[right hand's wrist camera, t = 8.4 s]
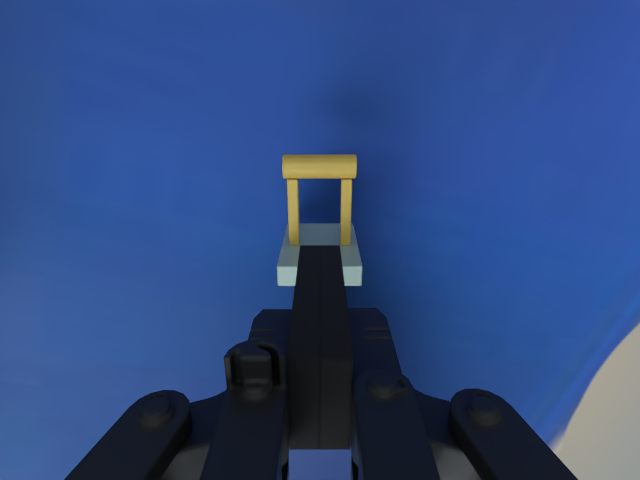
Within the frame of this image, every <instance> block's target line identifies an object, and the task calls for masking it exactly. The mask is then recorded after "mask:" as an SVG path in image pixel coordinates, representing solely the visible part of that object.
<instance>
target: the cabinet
mask: <svg viewBox="0 0 640 480" xmlns="http://www.w3.org/2000/svg"><path fill="white" fill-rule="evenodd" d="M350 476H351V445H350V450H290V445H289V480H350Z"/></svg>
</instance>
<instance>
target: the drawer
mask: <svg viewBox="0 0 640 480" xmlns="http://www.w3.org/2000/svg"><path fill="white" fill-rule="evenodd" d="M282 172H283V178H284V179H287V194H288V224H287V225H286V230H285V234H284V238H283V243H282V247H281V251H280V255H279V260H278V264H277V280H278V286H295V283H296V275H297V266H298V258H299V250H300V245H340V250H341V258H342V266H343V275H344V283H345V286H361V285H362V262H361V258H360V253H359V249H358V244H357V239H356V235H355V230H354V226H353V224H352V223H351V207H352V178H356V175H357V156H356V155H355V154H284V155H283V158H282ZM304 178H341V206H340V223H299V186H298V179H304Z"/></svg>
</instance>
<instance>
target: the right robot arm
mask: <svg viewBox="0 0 640 480" xmlns="http://www.w3.org/2000/svg"><path fill="white" fill-rule="evenodd" d="M224 364H225V373H226V382H227V390H225V391H224V392H222V393H220V394H218V395H217V396H214V397H211V398H208V399H204V400H200V401H196V402H192V403H189V400H188V399H187V397H186V396H185V395H184V394H182V393H180V392H177V391H174V390H162V391H158V392H154V393H150V394H148V395H146V396H144V397H142V398H140V399H139V400H137V401H136V402H135V403H134V404H133V405H131V406H130V407H129V408H128V409H127V410H126V412H125V413H124V414H123V415H122V416H121V417H120V418H119V419H118V420H117V422H116V423H115V424H114V425H113V426H112V427H111V428H110V429H109V430H108V432H107V433H106V434H105V435H104V436H103V437H102V438H101V439H100V440H99V442H98V443H97V444H96V445H95V446H94V447H93V448H92V449H91V450H90V452H89V453H88V454H87V455H86V456H85V457H84V458H83V459H82V460H81V462H80V463H79V464H78V465H77V466H76V467H75V468H74V469H73V470H72V472H71V473H70V474H69V475H68V476H67V477H66V478H65V479H64V480H289V445H290V450H350V445H351V476H350V480H578V479H577V478H576V477H575V476H574V475H573V474H572V473H571V471H570V470H569V469H568V468H567V467H566V466H565V465H564V464H563V463H562V461H561V460H560V459H559V458H558V457H557V456H556V455H555V454H554V453H553V451H552V450H551V449H550V448H549V447H548V446H547V445H546V444H545V443H544V442H543V440H542V439H541V438H540V437H539V436H538V435H537V434H536V433H535V432H534V431H533V429H532V428H531V427H530V426H529V425H528V424H527V423H526V422H525V421H524V419H523V418H522V417H521V416H520V415H519V414H518V413H517V412H516V411H515V410H514V408H513V407H512V406H511V405H510V404H508V403H507V402H506V401H505V400H504V399H502V398H501V397H499V396H497V395H495V394H493V393H491V392H489V391H485V390H480V389H464V390H462V391H459V392H457V393H456V394H455V395H454V396H453V397H452V399H451V402H450V401H446V400H442V399H438V398H434V397H431V396H428V395H425V394H423V393H421V392H419V391H417V390H415V389H414V388H413V387H412V385H411V383H410V381H409V380H408V379H407V378H406V377H405V376H404V375H402V372H401V369H400V365H399V362H398V358H397V354H396V351H395V347H394V344H393V340H392V337H391V333H390V331H389V326H388V322H387V319H386V317H385V316H384V315H383V314H382V313H381V312H380V311H379V310H378V309H377V308H347V299H346V291H345V283H344V275H343V266H342V258H341V250H340V245H300V250H299V258H298V266H297V275H296V283H295V291H294V299H293V307H292V309H263V310H262V311H261V312H260V313H259V314H258V315H257V316H256V317H255V318H254V320H253V324H252V327H251V332H250V335H249V338H248V340H247V341H245V342H242V343H239V344H237V345H235V346H234V347H232V348H231V349H230V350H228V352H227V354H226V355H225V357H224Z"/></svg>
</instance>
